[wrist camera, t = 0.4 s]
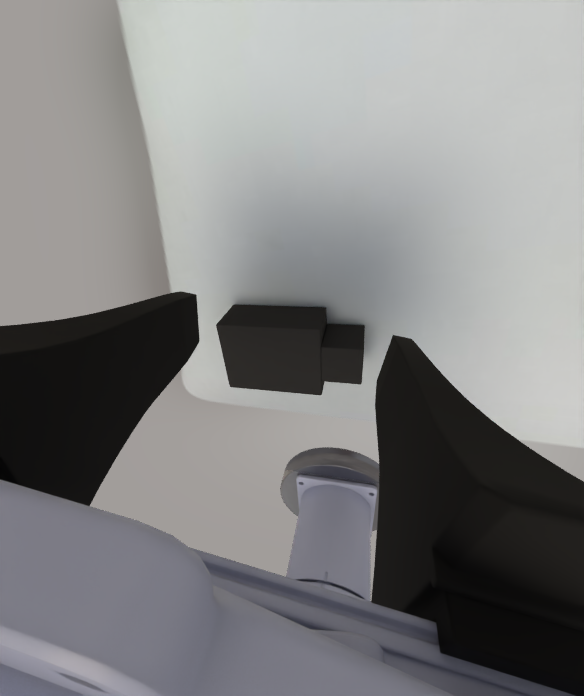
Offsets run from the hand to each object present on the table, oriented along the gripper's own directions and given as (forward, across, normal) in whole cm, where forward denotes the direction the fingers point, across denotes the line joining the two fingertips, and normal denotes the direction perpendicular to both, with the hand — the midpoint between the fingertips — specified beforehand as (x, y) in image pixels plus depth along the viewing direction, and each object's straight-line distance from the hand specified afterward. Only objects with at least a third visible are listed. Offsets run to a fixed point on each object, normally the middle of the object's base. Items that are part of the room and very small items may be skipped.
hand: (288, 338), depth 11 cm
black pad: (+9, +1, +6) cm, 11 cm away
